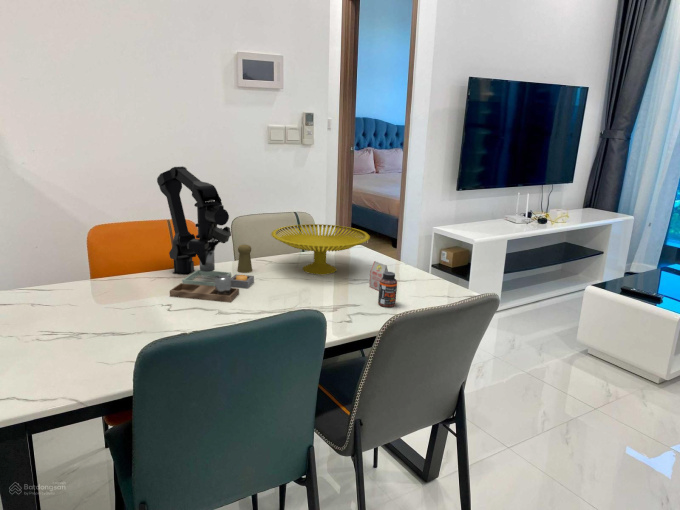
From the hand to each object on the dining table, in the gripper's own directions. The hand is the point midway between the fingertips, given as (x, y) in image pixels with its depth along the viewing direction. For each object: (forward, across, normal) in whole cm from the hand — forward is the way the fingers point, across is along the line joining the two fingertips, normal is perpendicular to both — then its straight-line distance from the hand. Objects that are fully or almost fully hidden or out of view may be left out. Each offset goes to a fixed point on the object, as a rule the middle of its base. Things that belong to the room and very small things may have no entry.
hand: (207, 262), depth 186 cm
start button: (+7, 0, -13) cm, 15 cm away
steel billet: (+2, 0, 0) cm, 2 cm away
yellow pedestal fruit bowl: (+8, +30, -36) cm, 48 cm away
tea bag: (+8, +12, -62) cm, 64 cm away
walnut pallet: (+8, -14, -5) cm, 17 cm away
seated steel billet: (+7, -14, -12) cm, 19 cm away
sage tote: (+8, 0, 0) cm, 8 cm away
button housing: (+8, 0, -13) cm, 15 cm away
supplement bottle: (+8, -4, -66) cm, 67 cm away
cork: (+8, +18, -8) cm, 21 cm away
